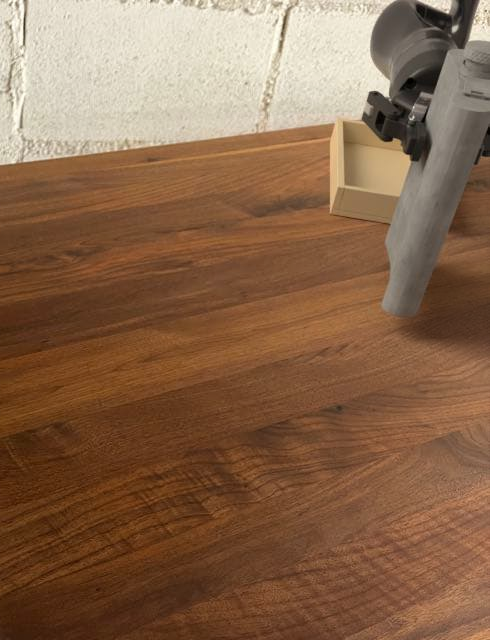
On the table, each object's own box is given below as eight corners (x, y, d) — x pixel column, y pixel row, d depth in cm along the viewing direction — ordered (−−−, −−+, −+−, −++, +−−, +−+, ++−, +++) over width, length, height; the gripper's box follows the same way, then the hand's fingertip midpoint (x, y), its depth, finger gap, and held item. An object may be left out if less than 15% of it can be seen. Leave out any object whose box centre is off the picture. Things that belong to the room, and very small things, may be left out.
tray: (421, 157, 112) (430, 131, 109) (436, 231, 96) (446, 204, 94) (329, 142, 113) (336, 117, 110) (329, 214, 97) (337, 186, 95)
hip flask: (384, 235, 90) (457, 14, 76) (425, 243, 89) (506, 21, 75) (380, 313, 79) (465, 71, 65) (426, 322, 78) (522, 80, 64)
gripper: (369, 38, 87) (375, 97, 75) (517, 58, 86) (547, 121, 74) (348, 117, 92) (350, 184, 80) (486, 138, 91) (510, 208, 79)
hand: (444, 154), depth 77 cm, fingers closed on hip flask, 4 cm apart
